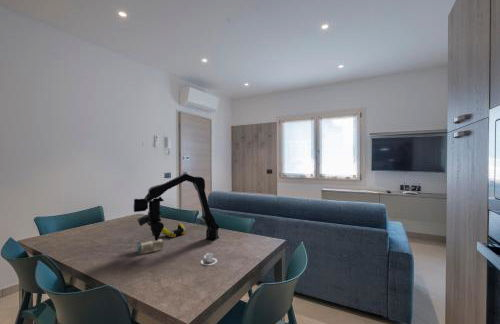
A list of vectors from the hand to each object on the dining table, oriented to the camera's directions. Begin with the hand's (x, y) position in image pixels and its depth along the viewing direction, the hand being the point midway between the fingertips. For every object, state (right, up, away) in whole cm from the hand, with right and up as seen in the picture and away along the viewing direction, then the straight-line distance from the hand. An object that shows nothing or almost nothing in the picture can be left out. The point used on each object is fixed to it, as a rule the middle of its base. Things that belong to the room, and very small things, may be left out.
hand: (155, 238), depth 126 cm
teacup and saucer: (+34, -7, -13) cm, 37 cm away
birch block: (+3, -4, +2) cm, 6 cm away
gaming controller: (+3, -6, +25) cm, 26 cm away
